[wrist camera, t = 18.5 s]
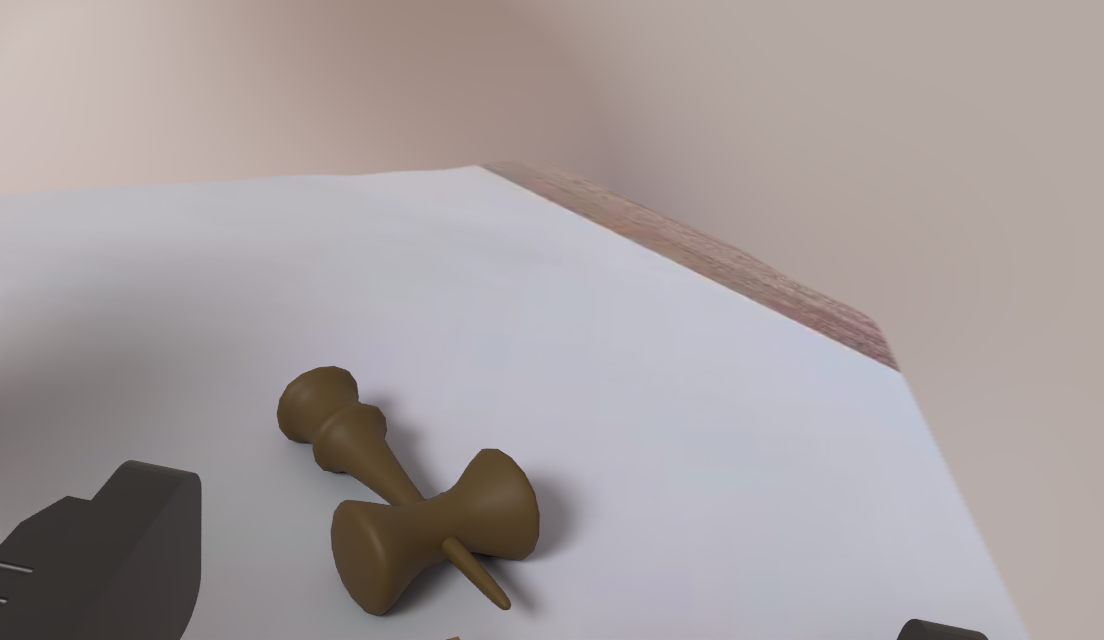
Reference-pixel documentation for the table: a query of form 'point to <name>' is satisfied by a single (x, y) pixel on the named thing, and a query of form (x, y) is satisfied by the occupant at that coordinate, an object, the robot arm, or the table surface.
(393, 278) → the table surface
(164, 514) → the robot arm
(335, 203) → the table surface
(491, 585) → the kendama
